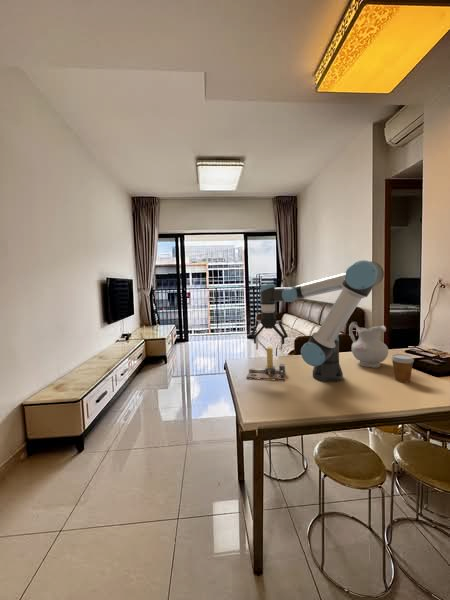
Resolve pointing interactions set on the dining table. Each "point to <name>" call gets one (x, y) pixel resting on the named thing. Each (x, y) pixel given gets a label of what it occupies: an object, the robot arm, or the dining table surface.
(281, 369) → the pitch board
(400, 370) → the disposable coffee cup
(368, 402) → the dining table surface
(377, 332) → the ceramic pitcher
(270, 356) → the sliding leg
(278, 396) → the dining table surface
